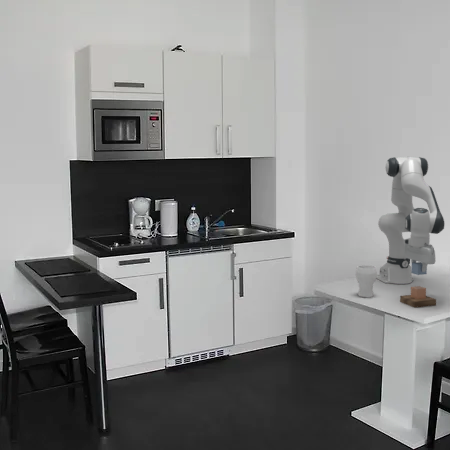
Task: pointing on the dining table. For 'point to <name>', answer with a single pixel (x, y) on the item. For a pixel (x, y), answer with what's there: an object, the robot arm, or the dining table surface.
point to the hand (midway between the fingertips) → (419, 270)
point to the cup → (366, 279)
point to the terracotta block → (418, 292)
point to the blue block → (418, 268)
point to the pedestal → (418, 301)
